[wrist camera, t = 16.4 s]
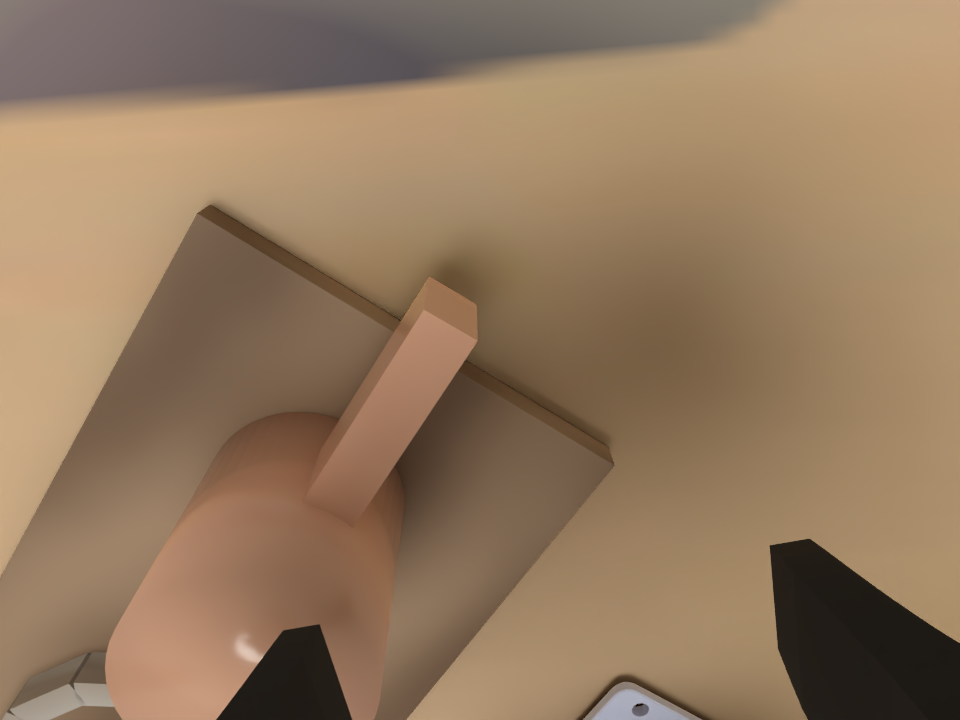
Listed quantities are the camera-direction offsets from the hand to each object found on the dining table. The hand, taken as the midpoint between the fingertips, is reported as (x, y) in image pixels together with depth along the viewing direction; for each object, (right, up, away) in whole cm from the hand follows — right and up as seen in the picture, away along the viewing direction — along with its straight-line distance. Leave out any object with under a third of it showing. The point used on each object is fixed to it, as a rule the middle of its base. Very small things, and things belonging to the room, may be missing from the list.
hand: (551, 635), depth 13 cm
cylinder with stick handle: (-4, +3, +8) cm, 9 cm away
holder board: (-9, -3, +11) cm, 15 cm away
